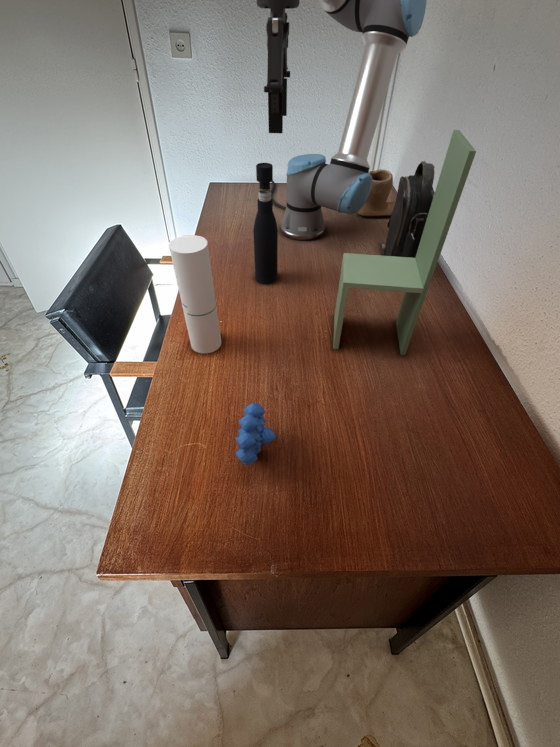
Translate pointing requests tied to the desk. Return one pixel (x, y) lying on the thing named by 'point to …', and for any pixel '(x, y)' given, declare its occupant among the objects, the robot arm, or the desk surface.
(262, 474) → the desk surface
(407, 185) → the shoulder bag
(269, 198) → the wine bottle
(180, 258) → the cylindrical container
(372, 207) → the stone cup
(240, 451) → the grapes
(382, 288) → the green miniature chair
